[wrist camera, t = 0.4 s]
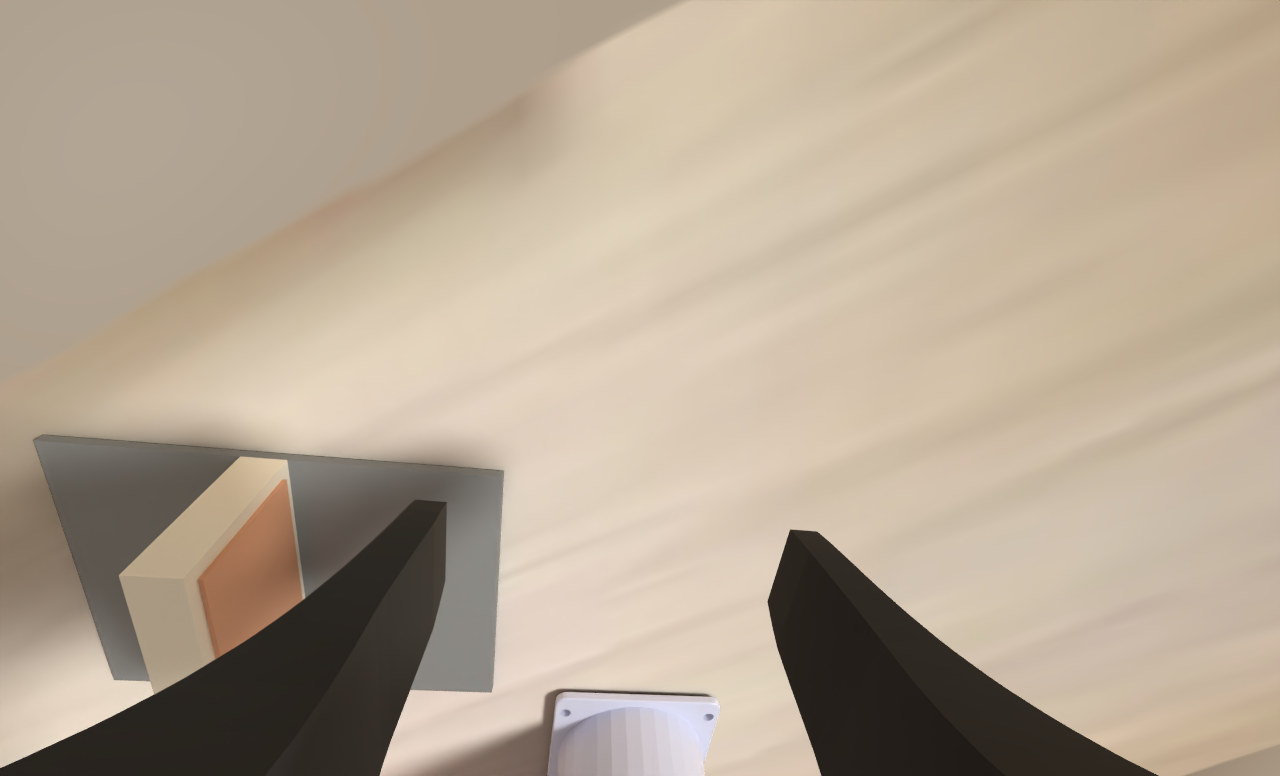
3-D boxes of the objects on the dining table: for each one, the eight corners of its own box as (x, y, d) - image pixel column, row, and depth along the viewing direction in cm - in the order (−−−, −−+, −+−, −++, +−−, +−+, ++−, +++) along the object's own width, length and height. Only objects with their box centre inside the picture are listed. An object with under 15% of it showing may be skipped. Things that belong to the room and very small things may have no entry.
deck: (312, 621, 25) (232, 765, 19) (267, 619, 24) (175, 764, 19) (291, 460, 21) (189, 579, 16) (240, 456, 21) (118, 575, 16)
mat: (492, 685, 28) (491, 692, 27) (120, 671, 26) (113, 680, 25) (503, 470, 23) (502, 476, 22) (43, 434, 21) (33, 440, 20)
